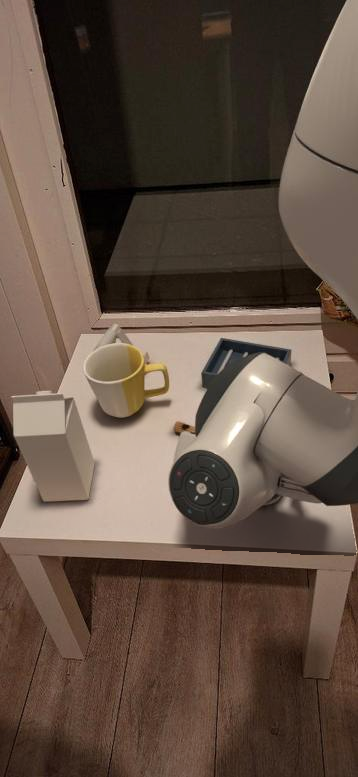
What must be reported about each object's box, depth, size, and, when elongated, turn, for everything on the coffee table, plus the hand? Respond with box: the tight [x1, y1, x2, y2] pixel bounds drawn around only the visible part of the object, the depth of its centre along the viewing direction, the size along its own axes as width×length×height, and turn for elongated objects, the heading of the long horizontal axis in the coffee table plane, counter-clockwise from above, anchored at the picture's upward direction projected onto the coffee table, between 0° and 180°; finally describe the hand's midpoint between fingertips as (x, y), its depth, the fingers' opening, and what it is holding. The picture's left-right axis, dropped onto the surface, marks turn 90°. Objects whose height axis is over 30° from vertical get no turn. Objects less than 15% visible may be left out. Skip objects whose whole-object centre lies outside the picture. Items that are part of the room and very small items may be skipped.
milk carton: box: [10, 390, 96, 502], centre depth 79 cm, size 7×7×19 cm
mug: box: [82, 342, 170, 418], centre depth 93 cm, size 14×10×10 cm
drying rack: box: [200, 337, 292, 389], centre depth 98 cm, size 14×11×4 cm
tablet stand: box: [92, 323, 150, 365], centre depth 101 cm, size 9×8×8 cm
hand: (264, 464), depth 77 cm, fingers open, 8 cm apart
